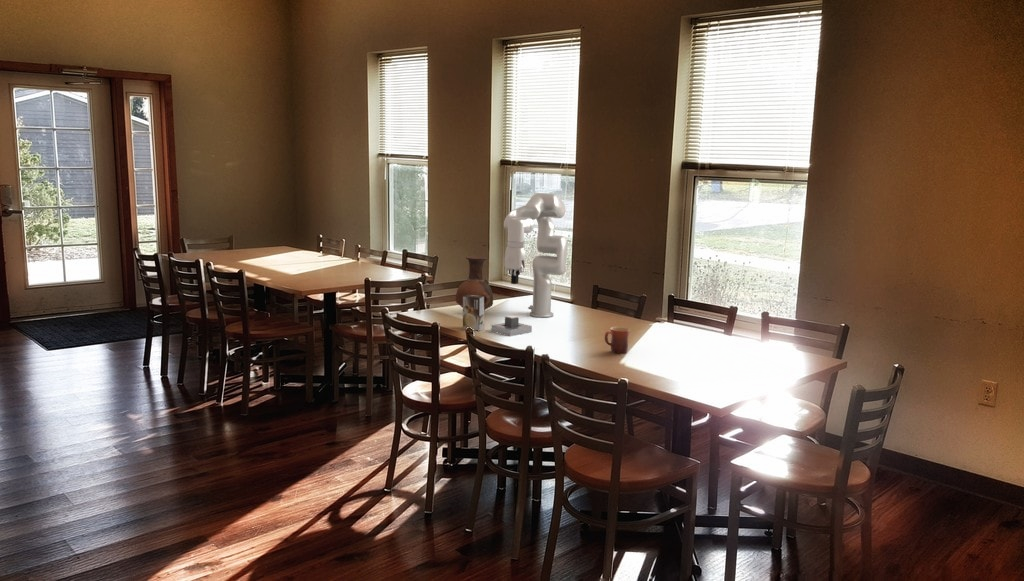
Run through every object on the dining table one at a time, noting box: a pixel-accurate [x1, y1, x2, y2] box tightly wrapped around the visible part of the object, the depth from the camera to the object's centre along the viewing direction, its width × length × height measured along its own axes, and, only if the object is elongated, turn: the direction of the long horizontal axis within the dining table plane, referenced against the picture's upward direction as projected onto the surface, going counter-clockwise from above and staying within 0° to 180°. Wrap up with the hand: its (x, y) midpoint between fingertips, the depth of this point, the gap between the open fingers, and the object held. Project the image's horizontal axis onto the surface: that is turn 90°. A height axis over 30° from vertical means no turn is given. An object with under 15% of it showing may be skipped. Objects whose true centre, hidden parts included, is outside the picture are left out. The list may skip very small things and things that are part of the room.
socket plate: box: [491, 322, 533, 337], centre depth 377 cm, size 13×14×4 cm
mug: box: [604, 326, 631, 354], centre depth 342 cm, size 12×9×10 cm
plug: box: [504, 315, 520, 328], centre depth 377 cm, size 5×5×7 cm
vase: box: [455, 255, 494, 311], centre depth 414 cm, size 25×20×30 cm
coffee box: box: [462, 295, 485, 332], centre depth 380 cm, size 9×6×16 cm
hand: (514, 283), depth 374 cm, fingers closed
